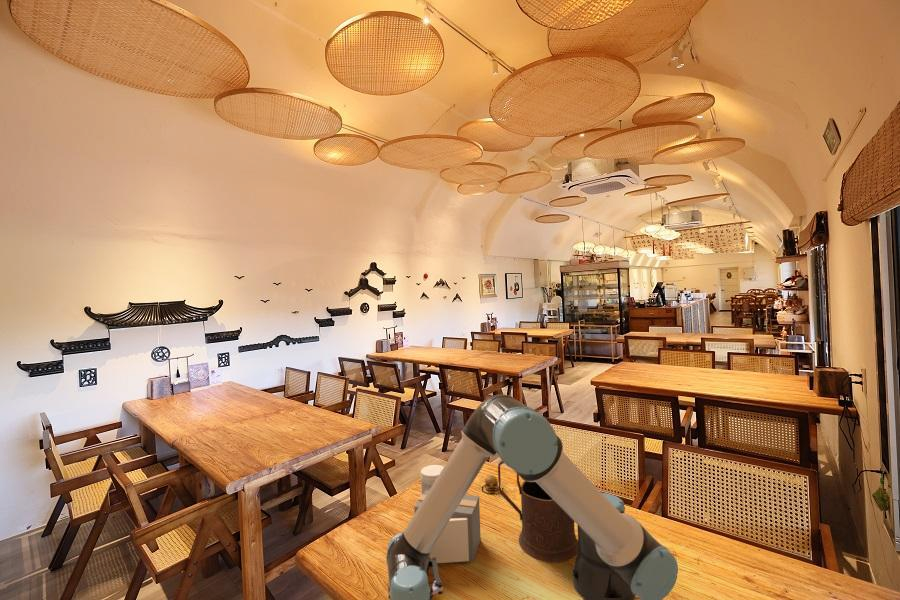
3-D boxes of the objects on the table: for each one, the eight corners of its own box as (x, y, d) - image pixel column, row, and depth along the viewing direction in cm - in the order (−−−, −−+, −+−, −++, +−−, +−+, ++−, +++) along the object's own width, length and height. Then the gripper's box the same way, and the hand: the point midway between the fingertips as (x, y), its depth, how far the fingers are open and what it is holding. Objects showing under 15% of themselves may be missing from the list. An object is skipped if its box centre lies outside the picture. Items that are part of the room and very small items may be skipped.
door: (468, 558, 109) (467, 517, 109) (472, 584, 99) (470, 539, 99) (413, 562, 108) (412, 521, 108) (411, 589, 98) (409, 543, 98)
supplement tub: (449, 516, 132) (448, 474, 132) (423, 519, 131) (421, 477, 130) (446, 501, 141) (444, 463, 141) (421, 504, 140) (419, 465, 140)
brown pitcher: (584, 566, 105) (581, 478, 105) (498, 558, 110) (495, 473, 110) (575, 526, 123) (573, 451, 123) (502, 520, 128) (499, 448, 128)
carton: (481, 540, 118) (479, 495, 118) (474, 562, 109) (472, 513, 109) (426, 532, 123) (425, 488, 123) (415, 552, 114) (413, 505, 114)
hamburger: (504, 499, 142) (503, 485, 142) (473, 495, 146) (473, 482, 146) (509, 484, 154) (508, 471, 154) (480, 481, 157) (480, 468, 157)
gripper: (378, 634, 83) (389, 560, 106) (451, 628, 84) (446, 556, 107) (377, 600, 83) (388, 534, 106) (449, 594, 83) (445, 530, 107)
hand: (417, 545), depth 106 cm, fingers closed on door, 3 cm apart
